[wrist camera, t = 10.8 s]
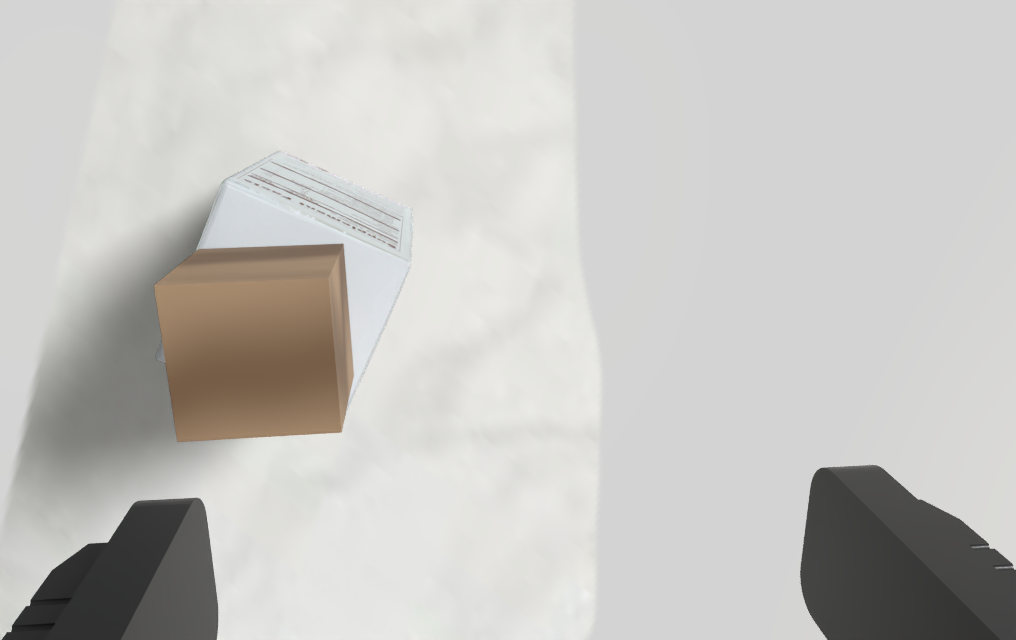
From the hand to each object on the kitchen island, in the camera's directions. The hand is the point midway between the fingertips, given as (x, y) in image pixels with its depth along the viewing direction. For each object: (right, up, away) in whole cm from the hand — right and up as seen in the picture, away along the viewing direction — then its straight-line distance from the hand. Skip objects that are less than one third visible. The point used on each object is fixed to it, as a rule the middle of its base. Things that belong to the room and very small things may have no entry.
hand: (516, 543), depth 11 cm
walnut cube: (-8, +3, +19) cm, 21 cm away
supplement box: (-10, +7, +31) cm, 33 cm away
